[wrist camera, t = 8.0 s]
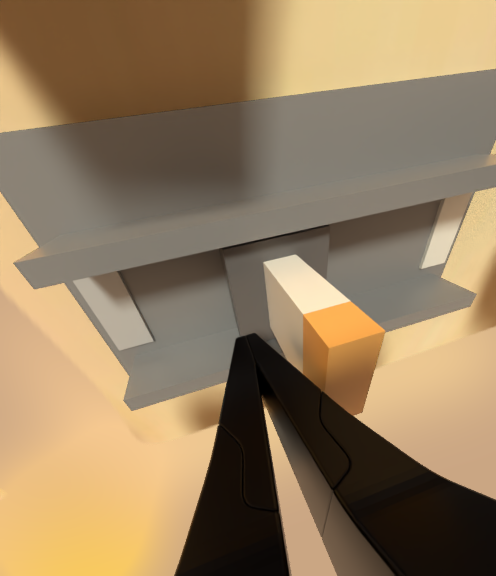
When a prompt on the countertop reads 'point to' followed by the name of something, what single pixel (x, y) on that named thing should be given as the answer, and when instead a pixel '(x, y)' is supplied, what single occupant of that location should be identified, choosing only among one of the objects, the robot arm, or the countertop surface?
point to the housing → (250, 211)
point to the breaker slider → (304, 312)
